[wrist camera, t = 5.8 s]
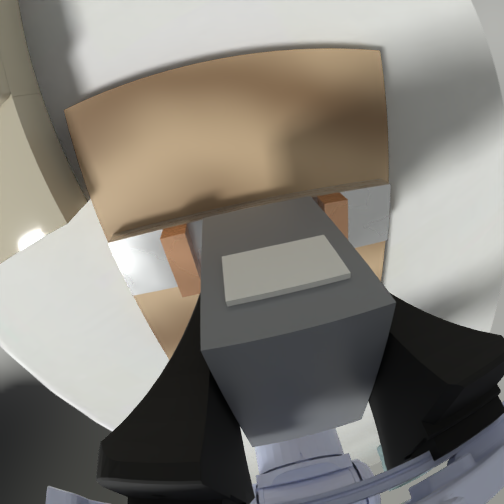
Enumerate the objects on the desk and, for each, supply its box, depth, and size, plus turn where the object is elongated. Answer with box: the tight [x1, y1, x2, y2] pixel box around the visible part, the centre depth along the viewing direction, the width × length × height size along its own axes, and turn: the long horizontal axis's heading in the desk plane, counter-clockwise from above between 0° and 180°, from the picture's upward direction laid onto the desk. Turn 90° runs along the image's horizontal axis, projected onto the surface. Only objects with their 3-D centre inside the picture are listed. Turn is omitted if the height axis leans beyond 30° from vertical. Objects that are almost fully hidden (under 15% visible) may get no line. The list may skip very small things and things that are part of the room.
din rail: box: [108, 178, 391, 297], centre depth 14 cm, size 4×15×2 cm, turn 100°
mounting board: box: [64, 48, 389, 360], centre depth 16 cm, size 18×16×1 cm
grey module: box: [200, 196, 396, 447], centre depth 9 cm, size 6×4×6 cm, turn 10°
